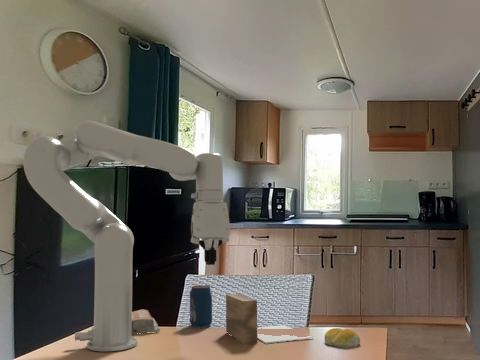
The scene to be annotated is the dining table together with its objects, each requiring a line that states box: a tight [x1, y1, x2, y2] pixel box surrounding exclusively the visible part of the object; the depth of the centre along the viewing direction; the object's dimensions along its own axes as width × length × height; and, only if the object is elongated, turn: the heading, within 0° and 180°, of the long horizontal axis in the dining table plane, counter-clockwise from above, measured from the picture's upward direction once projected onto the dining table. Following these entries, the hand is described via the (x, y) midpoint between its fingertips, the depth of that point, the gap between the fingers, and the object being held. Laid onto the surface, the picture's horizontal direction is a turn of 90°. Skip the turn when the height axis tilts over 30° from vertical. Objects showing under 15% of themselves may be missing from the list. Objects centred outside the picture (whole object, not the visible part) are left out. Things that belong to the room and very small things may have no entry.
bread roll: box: [324, 327, 361, 349], centre depth 119 cm, size 8×9×4 cm
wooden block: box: [225, 293, 258, 345], centre depth 127 cm, size 4×14×11 cm, turn 20°
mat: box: [257, 324, 314, 345], centre depth 130 cm, size 14×18×1 cm
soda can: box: [189, 285, 213, 329], centre depth 144 cm, size 7×7×12 cm
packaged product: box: [131, 309, 161, 335], centre depth 141 cm, size 18×5×10 cm
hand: (210, 264), depth 125 cm, fingers closed
